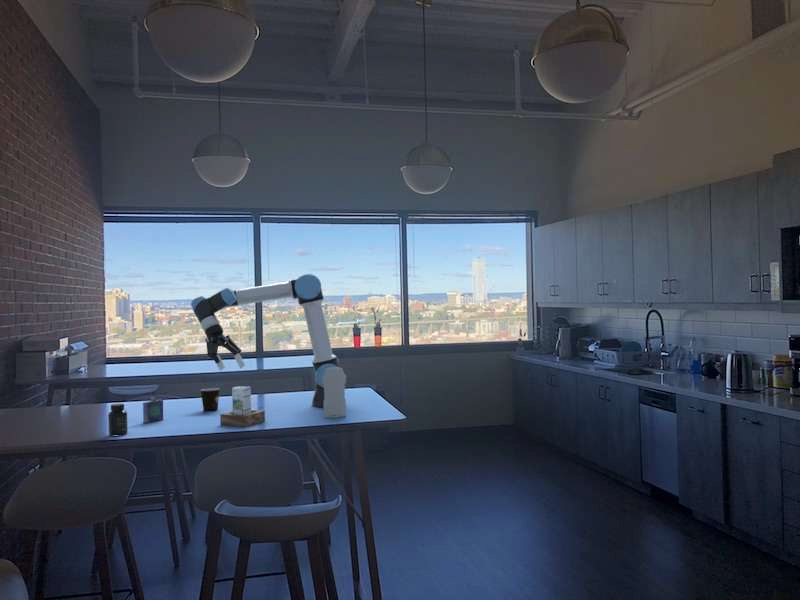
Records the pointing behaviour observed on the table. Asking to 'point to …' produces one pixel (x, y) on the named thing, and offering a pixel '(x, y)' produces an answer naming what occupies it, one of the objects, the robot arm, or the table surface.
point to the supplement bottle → (117, 420)
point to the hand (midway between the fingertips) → (233, 367)
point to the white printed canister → (241, 400)
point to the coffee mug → (210, 399)
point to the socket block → (242, 418)
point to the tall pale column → (334, 393)
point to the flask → (153, 410)
